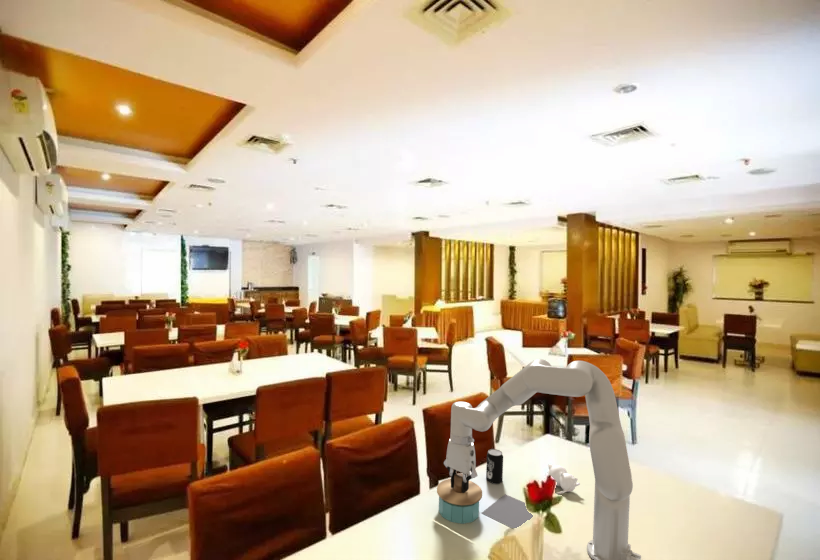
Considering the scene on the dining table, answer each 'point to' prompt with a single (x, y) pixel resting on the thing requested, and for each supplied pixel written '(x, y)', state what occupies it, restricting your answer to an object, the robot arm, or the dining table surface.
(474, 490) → the lid
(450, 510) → the bowl
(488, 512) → the mat
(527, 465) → the dining table surface
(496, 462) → the beverage can
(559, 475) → the cat figurine
